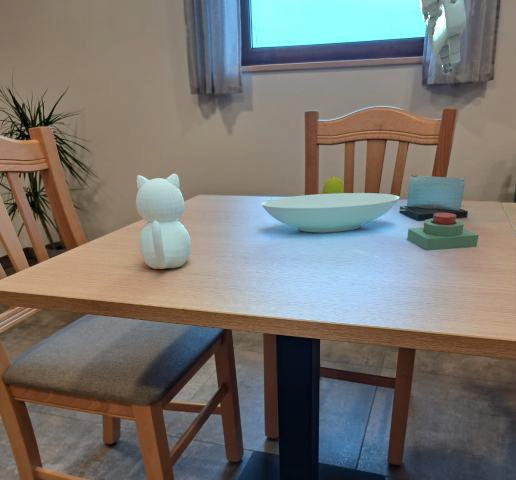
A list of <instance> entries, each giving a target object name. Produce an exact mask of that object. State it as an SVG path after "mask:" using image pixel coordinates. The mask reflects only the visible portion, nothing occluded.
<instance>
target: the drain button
mask: <svg viewBox="0 0 516 480" xmlns="http://www.w3.org/2000/svg"><path fill="white" fill-rule="evenodd" d="M456 220H457V218H456V215H455V214H452V213H435V214H434V215H433V223H434V224H439V225H454V224H455V221H456Z"/></svg>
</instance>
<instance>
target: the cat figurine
mask: <svg viewBox="0 0 516 480" xmlns="http://www.w3.org/2000/svg"><path fill="white" fill-rule="evenodd" d="M180 187H181V185H180V177H179V176H178V174H177V173H172V174H170V175H169V176H167V177H166V178H161V177H157V178H156V177H155V178H152V179H148V178H146V177H145V176H143V175H140V174H139V175H137V176H136V188H137V193H136V198H135V208H136V211H137V213H138V215H139V216H140V217H141V218H142V219H143V220H144V221H145V222H146V223H145V224H144V225H143V226H142V229H141V230H140V232H139V236H138V249H139V253H140V256H141V258H142V260H143V262H145V264H146V265H147V266H148V267H150V268H151V269H154V270H164V269H176V268H181V267H182V266H183V265H184V264H185V263H187V261H188V259H189V257H190V255H191V250H192V239H191V236H190V234H189V232H188V230H187V229H186V227H185V226H184V225H183V224H182V223H181V222H180V221H178V220H179V219H180V218H181V217H182V215H183V214H184V212H185V200H184V196H183V194H182V191H181V190H180Z"/></svg>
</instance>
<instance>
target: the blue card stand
mask: <svg viewBox="0 0 516 480" xmlns="http://www.w3.org/2000/svg"><path fill="white" fill-rule="evenodd" d="M465 185H466V177H454V176H453V177H451V176H428V175H425V176H424V175H418V174H411V176H409V183H408V191H407V200H406V206H407V207H412V208H425V209H439V210H452V211H459V210H460V209H462V207H461V206H462V202H463V196H464V190H465Z"/></svg>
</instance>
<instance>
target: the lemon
mask: <svg viewBox="0 0 516 480" xmlns="http://www.w3.org/2000/svg"><path fill="white" fill-rule="evenodd" d="M337 193H345V187H344V183H343V181H342V180H341V179H340V178H338V177H336V176H335V175H332V176H331V177H330V178H328V179H327V180H325V182H324V184H323V187H322V192H321V194H337Z"/></svg>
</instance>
